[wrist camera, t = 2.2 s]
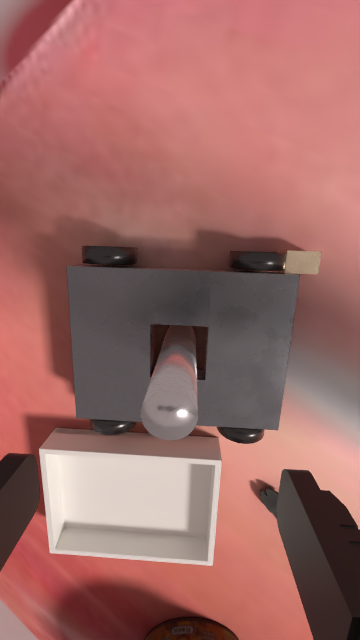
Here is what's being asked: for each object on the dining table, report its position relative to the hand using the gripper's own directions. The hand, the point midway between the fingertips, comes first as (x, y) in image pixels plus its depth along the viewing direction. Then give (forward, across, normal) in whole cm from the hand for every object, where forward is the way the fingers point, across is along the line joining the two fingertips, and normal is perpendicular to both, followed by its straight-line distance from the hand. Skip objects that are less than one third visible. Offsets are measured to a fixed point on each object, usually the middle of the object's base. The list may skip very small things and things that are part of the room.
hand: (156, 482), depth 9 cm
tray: (+16, +4, +16) cm, 23 cm away
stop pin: (+16, 0, 0) cm, 16 cm away
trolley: (+16, 0, 0) cm, 16 cm away
